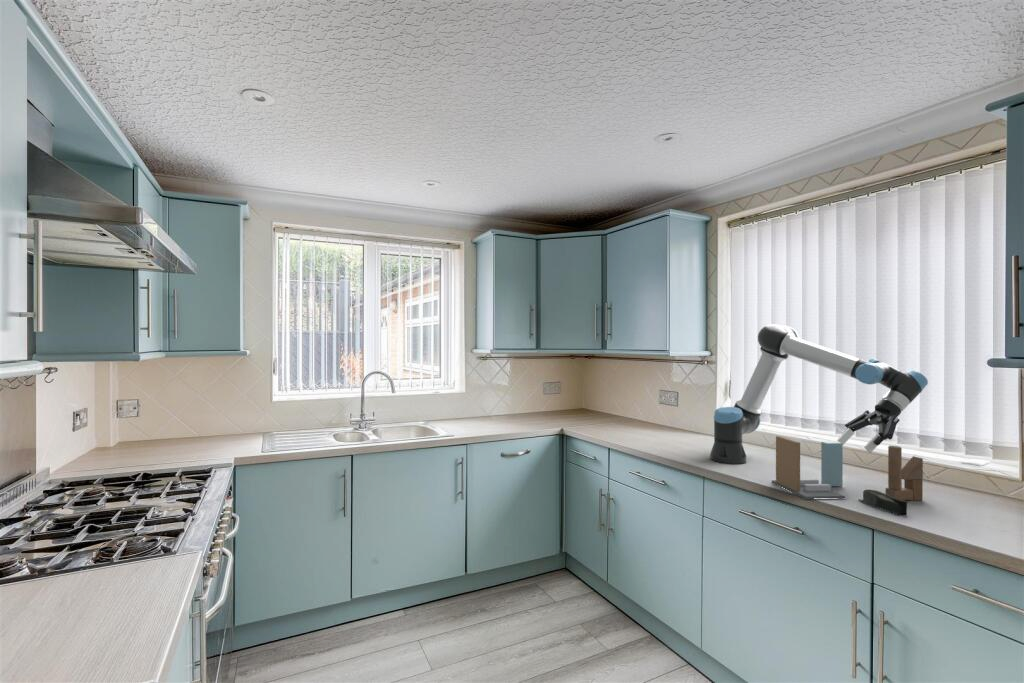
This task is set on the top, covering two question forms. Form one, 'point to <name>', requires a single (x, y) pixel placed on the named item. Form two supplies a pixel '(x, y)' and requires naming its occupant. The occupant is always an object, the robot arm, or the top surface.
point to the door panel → (832, 463)
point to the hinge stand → (797, 473)
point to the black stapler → (884, 502)
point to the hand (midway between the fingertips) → (853, 446)
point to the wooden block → (904, 476)
